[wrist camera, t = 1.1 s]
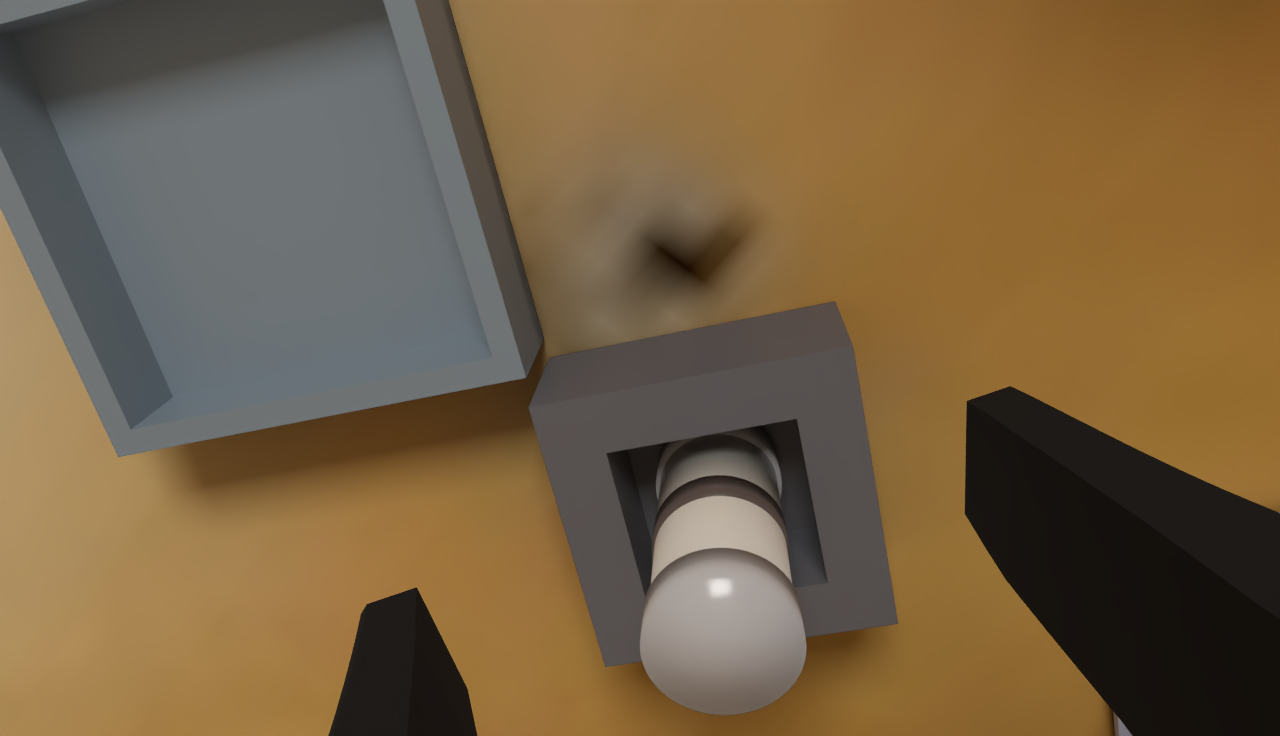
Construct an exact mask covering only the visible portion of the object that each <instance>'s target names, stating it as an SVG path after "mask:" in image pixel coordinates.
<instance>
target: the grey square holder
mask: <svg viewBox="0 0 1280 736" xmlns="http://www.w3.org/2000/svg"><path fill="white" fill-rule="evenodd" d="M528 408H529V412H530V415H531V418H532V422H533V425H534V428H535V432H536V435H537V438H538V442H539V445H540V449H541V452H542V455H543V459H544V462H545V465H546V469H547V472H548V475H549V479H550V482H551V486H552V489H553V492H554V496H555V499H556V502H557V506H558V509H559V512H560V516H561V519H562V522H563V526H564V529H565V533H566V536H567V539H568V543H569V546H570V549H571V553H572V556H573V559H574V563H575V566H576V570H577V573H578V576H579V580H580V583H581V586H582V590H583V593H584V596H585V600H586V603H587V607H588V610H589V613H590V617H591V620H592V623H593V627H594V630H595V633H596V637H597V640H598V644H599V647H600V650H601V654H602V657H603V660H604V664H605V667H609V666H616V665H622V664H629V663H636V662H642V659H641V654H640V637H641V627H642V617H643V607H644V600H645V597H646V593H647V591H648V589H649V587H650V585H651V576H652V565H653V561H652V540H653V530H654V522H655V518H656V515H657V511H658V498H657V493H656V476H657V466H658V458H659V453H660V450H661V448H662V445H663V443H666V442H671V441H677V440H682V439H688V438H694V437H699V436H705V435H710V434H716V433H721V432H727V431H732V430H738V429H743V428H749V427H755V426H759V427H760V428H762V429H763V430H764V431H765V432H766V434H767V435H768V436H769V437H770V439H771V440H772V442H773V444H774V446H775V448H776V451H777V454H778V459H779V465H780V472H781V479H782V493H781V498H780V502H781V509H782V513H783V515H784V518H785V522H786V527H787V534H788V541H789V549H790V559H789V565H790V572H791V579H792V584H793V586H794V587H795V590H796V592H797V594H798V597H799V600H800V604H801V611H802V617H803V624H804V631H805V637H812V636H819V635H826V634H832V633H839V632H846V631H853V630H860V629H866V628H873V627H880V626H887V625H893V624H898V620H897V614H896V608H895V602H894V596H893V590H892V583H891V577H890V571H889V565H888V559H887V553H886V546H885V540H884V534H883V528H882V522H881V516H880V509H879V503H878V497H877V491H876V485H875V479H874V472H873V466H872V460H871V454H870V448H869V442H868V435H867V429H866V423H865V417H864V411H863V405H862V398H861V392H860V386H859V380H858V374H857V368H856V361H855V355H854V349H853V345H852V342H851V340H850V337H849V335H848V332H847V330H846V327H845V325H844V323H843V320H842V318H841V315H840V313H839V310H838V308H837V305H836V303H835V302H830V303H825V304H820V305H815V306H810V307H804V308H799V309H794V310H789V311H784V312H779V313H774V314H769V315H764V316H759V317H754V318H749V319H743V320H738V321H733V322H728V323H723V324H718V325H713V326H708V327H703V328H698V329H693V330H688V331H682V332H677V333H672V334H667V335H662V336H657V337H652V338H647V339H642V340H637V341H632V342H626V343H621V344H616V345H611V346H606V347H601V348H596V349H591V350H586V351H581V352H576V353H571V354H565V355H560V356H555V357H550V358H549V360H548V362H547V365H546V367H545V369H544V372H543V374H542V376H541V379H540V381H539V383H538V386H537V388H536V391H535V393H534V395H533V398H532V400H531V402H530V405H529V407H528Z"/></svg>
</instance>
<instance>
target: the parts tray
mask: <svg viewBox="0 0 1280 736" xmlns="http://www.w3.org/2000/svg"><path fill="white" fill-rule="evenodd" d="M0 208H1V210H2V212H3V214H4V216H5V218H6V220H7V223H8V225H9V227H10V229H11V231H12V233H13V235H14V237H15V240H16V242H17V244H18V246H19V248H20V250H21V252H22V254H23V256H24V259H25V261H26V263H27V265H28V267H29V269H30V271H31V273H32V276H33V278H34V280H35V282H36V284H37V286H38V288H39V290H40V292H41V295H42V297H43V299H44V301H45V303H46V305H47V307H48V309H49V311H50V314H51V316H52V318H53V320H54V322H55V324H56V326H57V328H58V331H59V333H60V335H61V337H62V339H63V341H64V343H65V345H66V347H67V350H68V352H69V354H70V356H71V358H72V360H73V362H74V364H75V367H76V369H77V371H78V373H79V375H80V377H81V379H82V381H83V383H84V386H85V388H86V390H87V392H88V394H89V396H90V398H91V400H92V402H93V405H94V407H95V409H96V411H97V413H98V415H99V417H100V419H101V422H102V424H103V426H104V428H105V430H106V432H107V434H108V436H109V438H110V441H111V443H112V445H113V447H114V449H115V451H116V453H117V455H118V457H122V456H127V455H132V454H137V453H142V452H147V451H152V450H158V449H163V448H168V447H173V446H178V445H183V444H188V443H194V442H199V441H204V440H209V439H214V438H219V437H224V436H230V435H235V434H240V433H245V432H250V431H255V430H261V429H266V428H271V427H276V426H281V425H286V424H291V423H297V422H302V421H307V420H312V419H317V418H322V417H327V416H333V415H338V414H343V413H348V412H353V411H358V410H363V409H369V408H374V407H379V406H384V405H389V404H394V403H400V402H405V401H410V400H415V399H420V398H425V397H430V396H436V395H441V394H446V393H451V392H456V391H461V390H466V389H472V388H477V387H482V386H487V385H492V384H497V383H503V382H508V381H513V380H518V379H523V378H526V377H527V375H528V373H529V371H530V368H531V366H532V364H533V362H534V360H535V358H536V355H537V353H538V351H539V349H540V347H541V345H542V342H543V340H544V337H543V333H542V330H541V326H540V323H539V319H538V316H537V312H536V309H535V305H534V302H533V298H532V295H531V291H530V287H529V284H528V280H527V277H526V273H525V270H524V266H523V263H522V259H521V256H520V252H519V249H518V245H517V242H516V238H515V234H514V231H513V227H512V224H511V220H510V217H509V213H508V210H507V206H506V203H505V199H504V196H503V192H502V189H501V185H500V182H499V178H498V174H497V171H496V167H495V164H494V160H493V157H492V153H491V150H490V146H489V143H488V139H487V136H486V132H485V129H484V125H483V121H482V118H481V114H480V111H479V107H478V104H477V100H476V97H475V93H474V90H473V86H472V83H471V79H470V76H469V72H468V69H467V65H466V61H465V58H464V54H463V51H462V47H461V44H460V40H459V37H458V33H457V30H456V26H455V23H454V19H453V16H452V12H451V9H450V5H449V1H448V0H0Z"/></svg>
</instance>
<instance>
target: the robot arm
mask: <svg viewBox="0 0 1280 736" xmlns="http://www.w3.org/2000/svg"><path fill="white" fill-rule="evenodd" d="M965 515H966V516H967V518H968V520H969V521H970V523H971V525H972V526H973V528H974V529H975V531H976V533H977V534H978V536H979V538H980V539H981V541H982V543H983V544H984V546H985V548H986V549H987V551H988V552H989V554H990V556H991V557H992V559H993V560H994V562H995V563H996V565H997V566H998V568H999V570H1000V571H1001V573H1002V574H1003V576H1004V577H1005V579H1006V580H1007V581H1008V583H1009V584H1010V585H1011V587H1012V588H1013V589H1014V590H1015V592H1016V593H1017V594H1018V595H1019V597H1020V598H1021V599H1022V600H1023V602H1024V603H1025V604H1026V605H1027V607H1028V608H1029V609H1030V610H1031V611H1032V613H1033V614H1034V615H1035V616H1036V618H1037V619H1038V620H1039V621H1040V623H1041V624H1042V625H1043V626H1044V628H1045V629H1046V630H1047V631H1048V632H1049V634H1050V635H1051V636H1052V637H1053V639H1054V640H1055V641H1056V642H1057V643H1058V645H1059V646H1060V647H1061V648H1062V649H1063V651H1064V652H1065V653H1066V654H1067V656H1068V657H1069V658H1070V659H1071V660H1072V662H1073V663H1074V664H1075V665H1076V666H1077V668H1078V669H1079V670H1080V671H1081V673H1082V674H1083V675H1084V676H1085V677H1086V679H1087V680H1088V681H1089V682H1090V684H1091V685H1092V686H1093V687H1094V688H1095V690H1096V691H1097V692H1098V693H1099V694H1100V696H1101V697H1102V698H1103V699H1104V701H1105V702H1106V703H1107V704H1108V705H1109V707H1110V708H1111V709H1112V710H1113V713H1114V727H1115V736H1280V512H1279V513H1278V512H1275V511H1273V510H1271V509H1268V508H1266V507H1264V506H1261V505H1259V504H1256V503H1254V502H1252V501H1249V500H1247V499H1245V498H1242V497H1240V496H1237V495H1235V494H1233V493H1230V492H1228V491H1226V490H1223V489H1221V488H1219V487H1216V486H1214V485H1212V484H1210V483H1207V482H1205V481H1203V480H1201V479H1199V478H1196V477H1194V476H1192V475H1190V474H1187V473H1185V472H1183V471H1181V470H1179V469H1177V468H1175V467H1172V466H1170V465H1168V464H1166V463H1164V462H1162V461H1160V460H1158V459H1156V458H1154V457H1151V456H1149V455H1147V454H1145V453H1143V452H1141V451H1139V450H1137V449H1135V448H1133V447H1131V446H1129V445H1127V444H1125V443H1123V442H1121V441H1119V440H1117V439H1115V438H1113V437H1111V436H1109V435H1107V434H1105V433H1103V432H1101V431H1099V430H1097V429H1095V428H1093V427H1091V426H1089V425H1087V424H1085V423H1083V422H1081V421H1079V420H1077V419H1075V418H1073V417H1071V416H1069V415H1067V414H1065V413H1063V412H1061V411H1059V410H1057V409H1055V408H1054V407H1052V406H1050V405H1048V404H1046V403H1044V402H1042V401H1040V400H1038V399H1036V398H1034V397H1032V396H1030V395H1028V394H1026V393H1023V392H1021V391H1019V390H1017V389H1015V388H1013V387H1011V386H1010V387H1007V388H1004V389H1001V390H998V391H995V392H992V393H989V394H986V395H983V396H980V397H977V398H974V399H971V400H969V401H967V422H966V478H965ZM329 736H477V732H476V727H475V723H474V718H473V713H472V708H471V704H470V699H469V694H468V689H467V687H466V685H465V683H464V681H463V679H462V677H461V675H460V673H459V671H458V669H457V667H456V665H455V663H454V661H453V659H452V657H451V655H450V653H449V651H448V649H447V647H446V645H445V643H444V641H443V639H442V637H441V635H440V633H439V631H438V629H437V627H436V625H435V623H434V621H433V619H432V617H431V615H430V613H429V611H428V609H427V607H426V605H425V603H424V601H423V599H422V597H421V595H420V593H419V591H418V589H417V588H414V589H411V590H408V591H405V592H402V593H399V594H396V595H393V596H390V597H387V598H384V599H381V600H378V601H375V602H372V603H369V604H367V605H366V607H365V608H364V610H363V612H362V613H361V617H360V621H359V626H358V630H357V635H356V639H355V643H354V647H353V651H352V655H351V659H350V663H349V667H348V671H347V675H346V678H345V682H344V686H343V689H342V693H341V696H340V700H339V703H338V707H337V710H336V714H335V717H334V720H333V723H332V726H331V729H330V733H329Z"/></svg>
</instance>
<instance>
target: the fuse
mask: <svg viewBox="0 0 1280 736" xmlns="http://www.w3.org/2000/svg"><path fill="white" fill-rule="evenodd" d="M656 493H657V498H658V511H657V515H656V518H655V522H654V530H653V540H652V561H653V565H652V576H651V585H650V587H649V589H648V591H647V593H646V597H645V600H644V607H643V617H642V627H641V637H640V654H641V659H642V663H643V666H644V668H645V671H646V672H647V674H648V676H649V678H650V679H651V681H652V682H653V683H654V685H655V686H656V687H657V688H658V689H659V690H660V691H661V692H662V693H663V694H665V695H666V696H667V697H668V698H670V699H671V700H673V701H675V702H676V703H678V704H680V705H682V706H684V707H686V708H689V709H692V710H695V711H698V712H702V713H706V714H714V715H735V714H742V713H747V712H751V711H754V710H758V709H760V708H763V707H765V706H767V705H769V704H771V703H773V702H774V701H776V700H777V699H779V698H780V697H781V696H783V695H784V694H785V693H786V692H787V691H788V690H789V689H790V688H791V687H792V686H793V684H794V683H795V682H796V681H797V679H798V677H799V675H800V674H801V672H802V669H803V666H804V663H805V658H806V648H807V645H806V637H805V631H804V624H803V617H802V611H801V604H800V600H799V597H798V594H797V592H796V590H795V587H794V586H793V584H792V579H791V572H790V565H789V559H790V549H789V541H788V534H787V527H786V522H785V518H784V515H783V513H782V509H781V502H780V498H781V493H782V479H781V472H780V465H779V459H778V454H777V451H776V448H775V446H774V444H773V442H772V440H771V439H770V437H769V436H768V435H767V434H766V432H765V431H764V430H763V429H762V428H760V427H759V426H755V427H749V428H743V429H738V430H732V431H727V432H721V433H716V434H710V435H705V436H699V437H694V438H688V439H682V440H677V441H671V442H666V443H663V445H662V448H661V450H660V453H659V458H658V466H657V476H656Z"/></svg>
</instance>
